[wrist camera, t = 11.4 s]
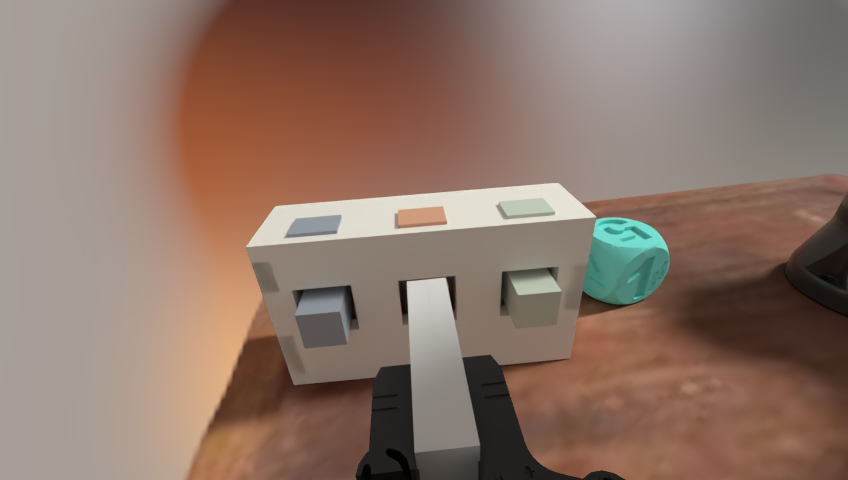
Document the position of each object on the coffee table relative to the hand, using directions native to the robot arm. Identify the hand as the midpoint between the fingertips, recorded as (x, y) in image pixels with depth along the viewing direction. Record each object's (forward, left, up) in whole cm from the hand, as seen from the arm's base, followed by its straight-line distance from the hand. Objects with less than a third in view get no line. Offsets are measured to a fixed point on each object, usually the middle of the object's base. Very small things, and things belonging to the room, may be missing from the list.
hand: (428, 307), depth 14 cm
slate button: (+16, -4, -13) cm, 21 cm away
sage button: (+3, -17, -13) cm, 21 cm away
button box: (+13, -13, -20) cm, 27 cm away
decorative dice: (+1, -35, -20) cm, 41 cm away
